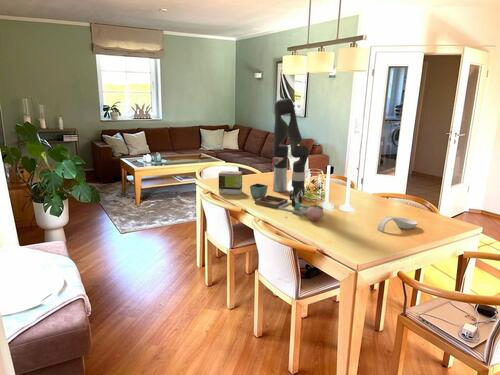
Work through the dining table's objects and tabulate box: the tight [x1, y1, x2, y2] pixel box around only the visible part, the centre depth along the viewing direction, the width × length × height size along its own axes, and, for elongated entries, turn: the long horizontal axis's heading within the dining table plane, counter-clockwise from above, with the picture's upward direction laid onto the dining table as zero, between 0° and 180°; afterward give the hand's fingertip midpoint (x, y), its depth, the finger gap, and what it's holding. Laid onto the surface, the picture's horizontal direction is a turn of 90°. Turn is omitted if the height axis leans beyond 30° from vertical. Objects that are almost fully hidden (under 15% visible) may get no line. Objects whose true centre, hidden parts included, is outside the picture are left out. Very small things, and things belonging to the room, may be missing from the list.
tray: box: [277, 201, 309, 217], centre depth 223 cm, size 14×18×2 cm
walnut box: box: [254, 194, 289, 209], centre depth 233 cm, size 15×15×3 cm
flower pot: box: [249, 182, 268, 200], centre depth 245 cm, size 9×9×9 cm
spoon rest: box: [376, 215, 419, 233], centre depth 196 cm, size 24×12×7 cm, turn 115°
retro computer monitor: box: [218, 170, 243, 196], centre depth 257 cm, size 15×10×15 cm
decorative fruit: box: [306, 203, 324, 222], centre depth 205 cm, size 9×8×10 cm
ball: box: [292, 200, 302, 211], centre depth 223 cm, size 5×5×5 cm
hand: (296, 205), depth 223 cm, fingers open, 8 cm apart
